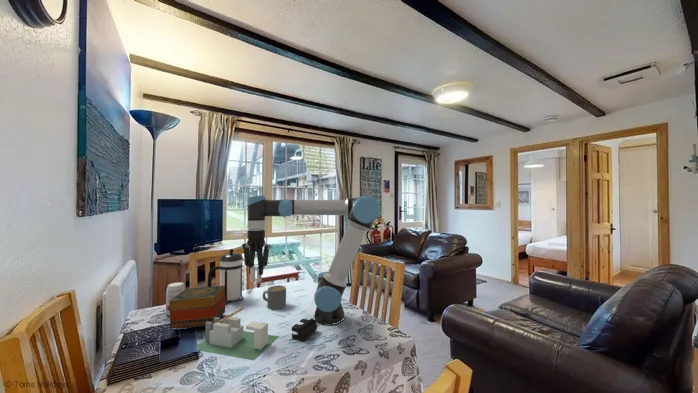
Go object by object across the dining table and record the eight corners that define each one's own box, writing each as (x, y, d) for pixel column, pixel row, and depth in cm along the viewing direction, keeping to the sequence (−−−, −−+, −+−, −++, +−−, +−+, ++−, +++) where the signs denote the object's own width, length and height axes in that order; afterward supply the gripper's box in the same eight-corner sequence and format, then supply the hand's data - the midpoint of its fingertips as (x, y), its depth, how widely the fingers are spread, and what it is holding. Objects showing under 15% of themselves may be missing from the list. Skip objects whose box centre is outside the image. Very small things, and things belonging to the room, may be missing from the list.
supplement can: (162, 315, 140) (162, 285, 141) (177, 309, 148) (177, 281, 148) (173, 317, 137) (173, 287, 137) (188, 311, 145) (188, 283, 145)
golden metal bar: (244, 309, 113) (242, 306, 113) (240, 312, 110) (238, 309, 111) (214, 325, 117) (213, 322, 117) (209, 328, 114) (208, 325, 114)
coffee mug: (289, 304, 155) (289, 286, 155) (278, 311, 146) (278, 292, 146) (270, 300, 161) (270, 283, 161) (258, 306, 152) (258, 288, 152)
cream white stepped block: (267, 343, 111) (267, 323, 111) (260, 349, 106) (260, 329, 107) (252, 340, 113) (252, 321, 113) (245, 347, 108) (245, 326, 108)
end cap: (305, 345, 112) (305, 329, 112) (291, 342, 115) (291, 325, 115) (317, 334, 122) (317, 319, 122) (303, 331, 124) (303, 316, 124)
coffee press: (224, 295, 170) (225, 246, 170) (249, 296, 168) (249, 247, 168) (206, 305, 153) (207, 251, 153) (233, 307, 150) (233, 252, 151)
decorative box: (212, 335, 122) (216, 297, 123) (160, 332, 120) (165, 294, 121) (229, 318, 142) (232, 285, 143) (185, 315, 140) (189, 282, 142)
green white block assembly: (279, 339, 117) (279, 317, 117) (254, 363, 100) (254, 338, 100) (223, 330, 124) (223, 310, 125) (191, 352, 107) (191, 328, 107)
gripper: (276, 229, 125) (275, 280, 125) (246, 228, 129) (246, 278, 129) (267, 231, 118) (266, 285, 118) (236, 229, 122) (235, 282, 122)
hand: (255, 281), depth 124 cm, fingers open, 3 cm apart
